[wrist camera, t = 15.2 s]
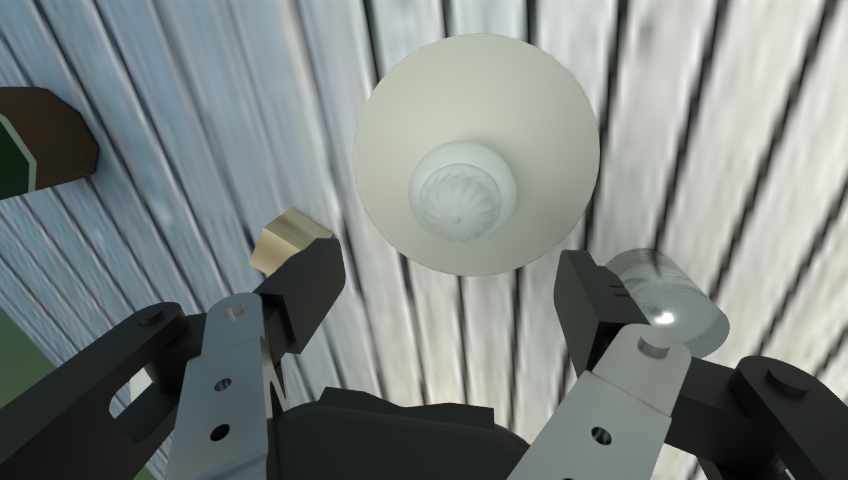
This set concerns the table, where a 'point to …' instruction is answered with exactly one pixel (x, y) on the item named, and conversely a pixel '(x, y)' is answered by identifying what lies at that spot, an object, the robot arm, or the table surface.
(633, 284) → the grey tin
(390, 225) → the white bowl
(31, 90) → the beer bottle
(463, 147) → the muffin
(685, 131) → the table surface
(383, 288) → the table surface
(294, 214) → the brass block
